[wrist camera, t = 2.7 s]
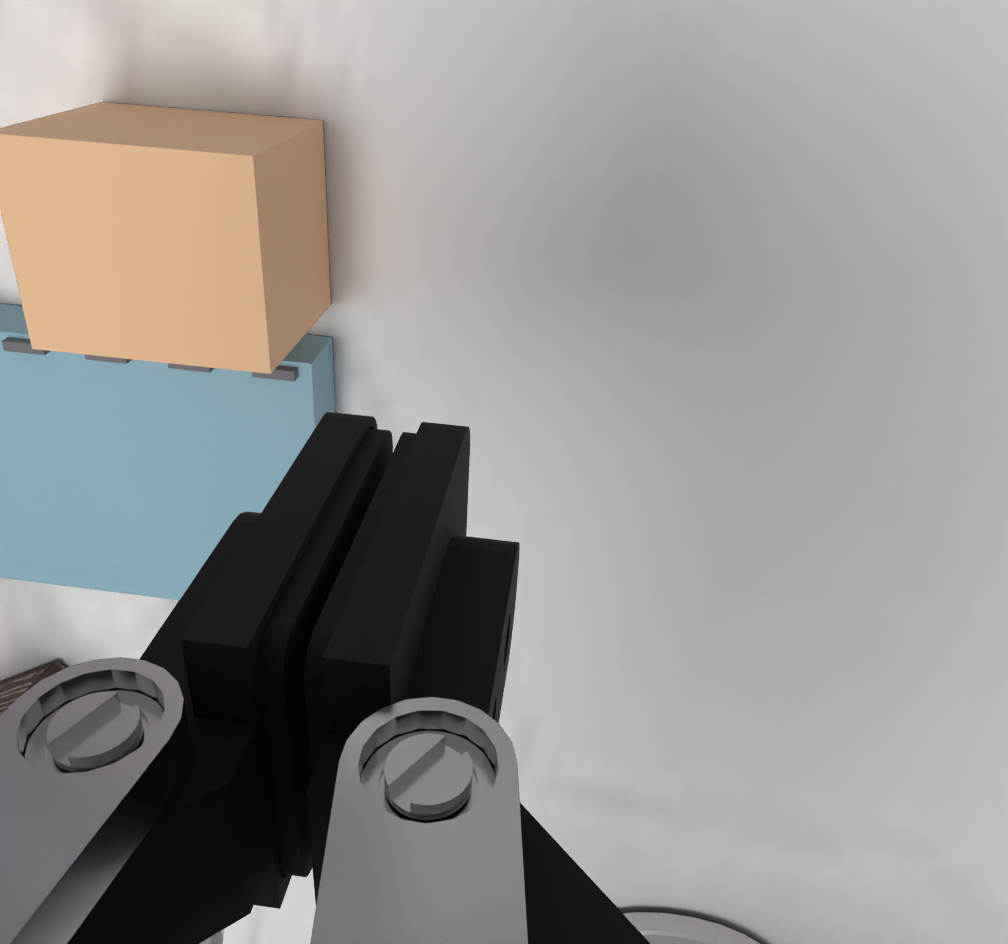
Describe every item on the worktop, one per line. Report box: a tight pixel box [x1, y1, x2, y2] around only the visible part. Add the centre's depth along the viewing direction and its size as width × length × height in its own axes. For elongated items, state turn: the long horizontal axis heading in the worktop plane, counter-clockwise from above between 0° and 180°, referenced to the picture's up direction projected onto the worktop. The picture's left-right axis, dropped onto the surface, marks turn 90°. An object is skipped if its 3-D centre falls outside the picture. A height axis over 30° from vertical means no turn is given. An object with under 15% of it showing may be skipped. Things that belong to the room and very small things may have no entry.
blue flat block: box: [0, 304, 335, 600], centre depth 28 cm, size 14×9×2 cm, turn 87°
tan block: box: [0, 102, 331, 374], centre depth 22 cm, size 6×5×5 cm
